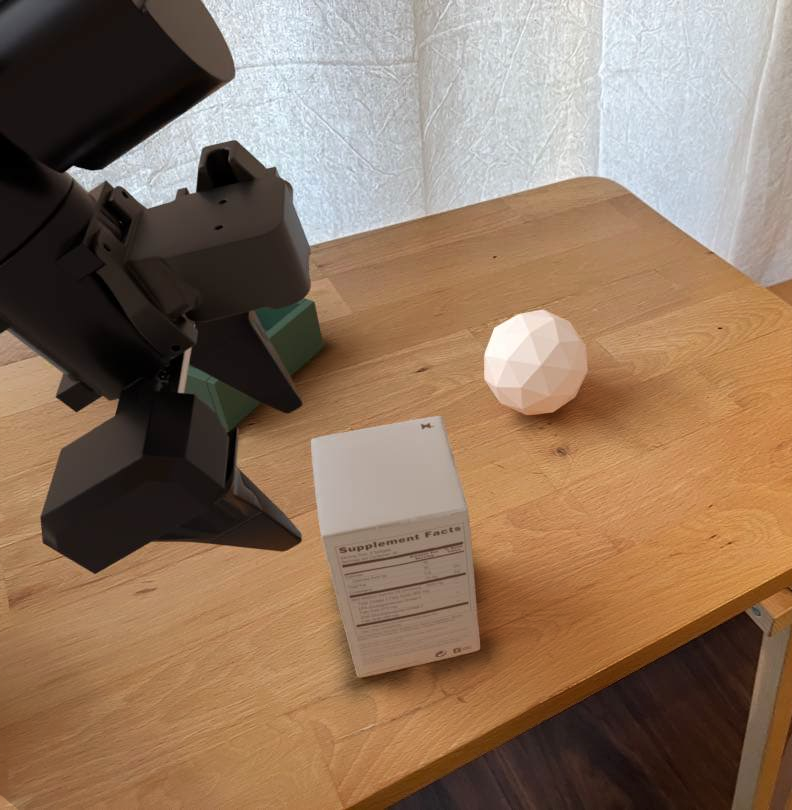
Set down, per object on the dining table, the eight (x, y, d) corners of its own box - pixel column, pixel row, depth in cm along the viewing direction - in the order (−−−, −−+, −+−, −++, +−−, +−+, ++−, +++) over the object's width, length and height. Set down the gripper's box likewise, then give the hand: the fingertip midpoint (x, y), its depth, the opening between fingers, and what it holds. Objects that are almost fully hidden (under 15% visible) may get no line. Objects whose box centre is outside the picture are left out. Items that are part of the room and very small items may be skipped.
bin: (115, 387, 69) (95, 341, 66) (216, 312, 77) (203, 267, 74) (229, 431, 66) (214, 383, 63) (324, 347, 73) (314, 301, 70)
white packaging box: (343, 581, 55) (307, 433, 47) (460, 558, 56) (445, 410, 48) (354, 683, 50) (316, 536, 41) (483, 655, 51) (471, 507, 43)
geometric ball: (561, 431, 69) (612, 398, 63) (466, 422, 66) (509, 385, 59) (556, 343, 72) (604, 302, 65) (465, 329, 69) (505, 285, 62)
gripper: (152, 248, 23) (464, 543, 33) (210, 22, 37) (418, 279, 47) (-150, 446, 25) (230, 667, 35) (12, 162, 39) (252, 379, 49)
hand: (295, 470), depth 42 cm, fingers open, 9 cm apart
